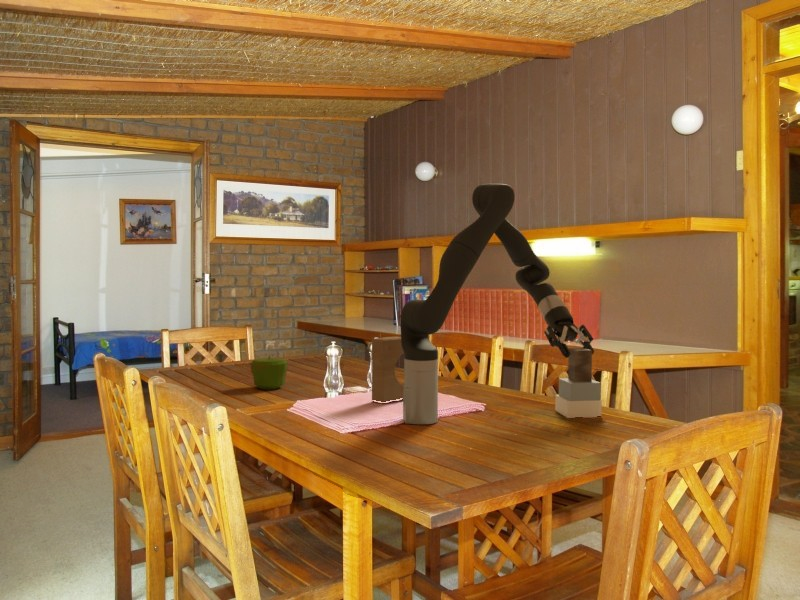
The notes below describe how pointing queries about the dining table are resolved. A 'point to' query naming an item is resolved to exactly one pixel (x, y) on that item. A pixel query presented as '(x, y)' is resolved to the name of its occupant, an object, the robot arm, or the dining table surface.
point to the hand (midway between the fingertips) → (580, 355)
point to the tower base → (578, 408)
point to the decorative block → (386, 369)
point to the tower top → (579, 390)
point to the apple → (269, 372)
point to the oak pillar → (580, 365)
